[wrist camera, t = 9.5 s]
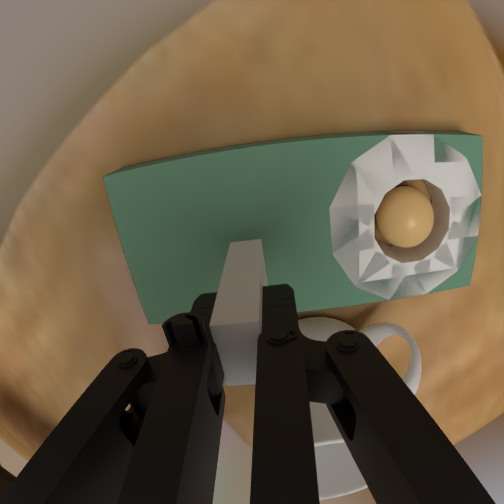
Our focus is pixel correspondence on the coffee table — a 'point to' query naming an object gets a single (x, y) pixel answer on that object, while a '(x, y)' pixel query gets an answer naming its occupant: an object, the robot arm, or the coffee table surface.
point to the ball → (405, 217)
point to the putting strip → (299, 217)
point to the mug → (324, 428)
